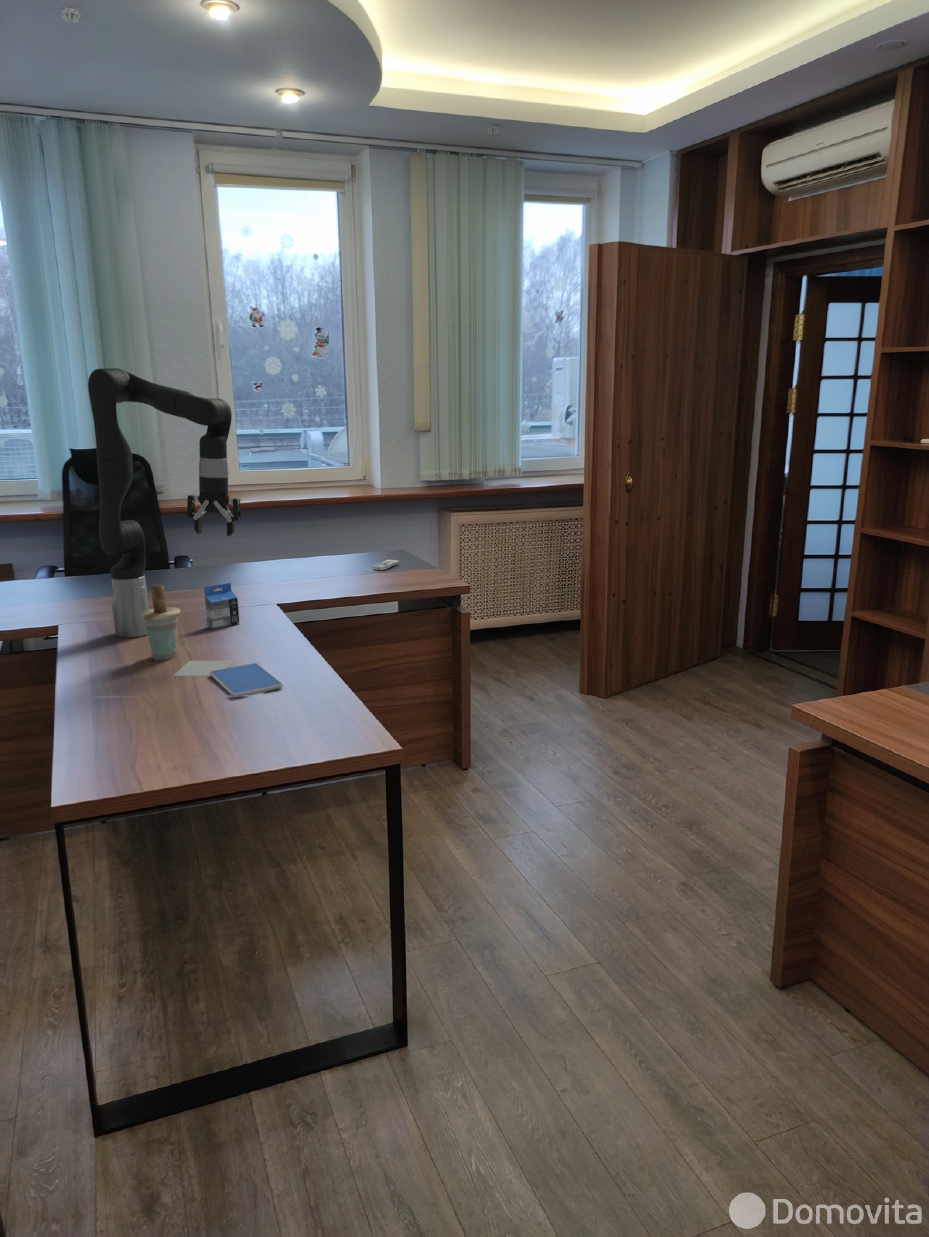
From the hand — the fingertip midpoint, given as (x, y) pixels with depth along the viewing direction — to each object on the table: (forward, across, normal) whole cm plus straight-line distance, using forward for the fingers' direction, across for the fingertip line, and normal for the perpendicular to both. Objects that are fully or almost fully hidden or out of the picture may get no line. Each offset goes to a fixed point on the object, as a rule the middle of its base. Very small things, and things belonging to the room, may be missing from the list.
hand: (214, 534), depth 240 cm
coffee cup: (+32, -9, -14) cm, 36 cm away
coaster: (+31, +6, -23) cm, 39 cm away
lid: (+20, -10, -14) cm, 26 cm away
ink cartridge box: (+31, -4, +18) cm, 36 cm away
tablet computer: (+30, +20, -33) cm, 49 cm away
